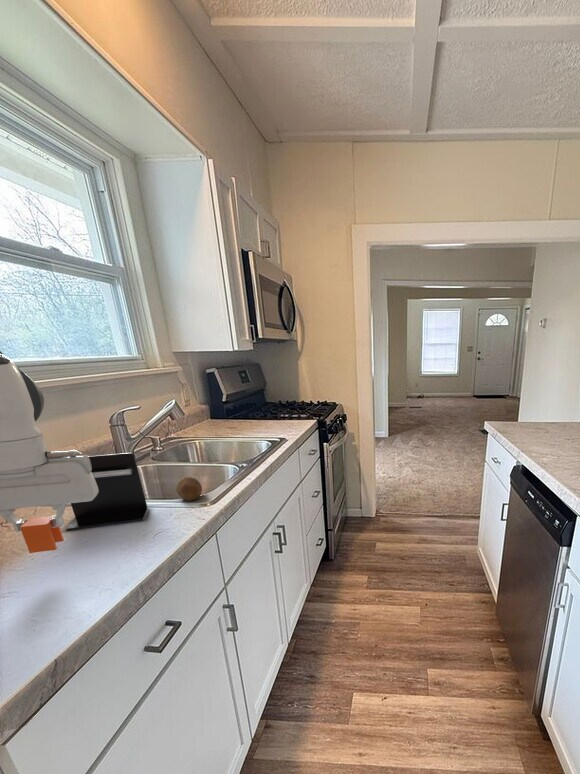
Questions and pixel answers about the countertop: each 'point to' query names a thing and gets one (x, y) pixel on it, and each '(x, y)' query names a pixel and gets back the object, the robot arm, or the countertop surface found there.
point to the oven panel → (112, 494)
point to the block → (41, 534)
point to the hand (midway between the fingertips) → (40, 528)
